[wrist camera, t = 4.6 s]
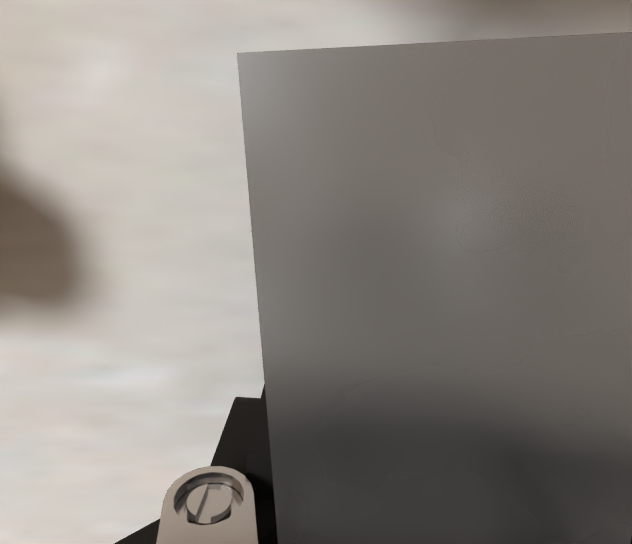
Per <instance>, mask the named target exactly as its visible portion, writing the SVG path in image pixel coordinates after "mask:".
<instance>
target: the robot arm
mask: <svg viewBox="0 0 632 544" xmlns="http://www.w3.org/2000/svg"><path fill="white" fill-rule="evenodd" d="M115 544H278V536H277V525H276V513H275V501H274V489H273V477H272V465H271V453H270V441H269V429H268V417H267V405H266V393H265V384H264V388H263V392H262V396H261V399H260V398H245V397H236V398H235V400H234V402H233V405H232V408H231V410H230V413H229V416H228V419H227V421H226V424H225V427H224V430H223V432H222V435H221V438H220V441H219V443H218V446H217V449H216V452H215V454H214V457H213V460H212V463H211V465H210V466H209V467H203V468H198V469H195V470H193V471H191V472H188V473H186V474H184V475H183V476H182V477H180V478H179V479H177V480H176V481H175V482H174V483H173V484H172V485H171V487H170V488H169V489H168V490H167V493H166V495H165V498H164V501H163V506H162V512H161V518H160V519H158V520H157V521H155V522H153V523H151V524H149V525H147V526H146V527H144V528H142V529H140V530H138V531H136V532H135V533H133V534H131V535H129V536H127V537H125V538H124V539H122V540H120V541H118V542H116V543H115ZM630 544H632V537H631V543H630Z"/></svg>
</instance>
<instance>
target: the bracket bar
mask: <svg viewBox="0 0 632 544" xmlns="http://www.w3.org/2000/svg"><path fill="white" fill-rule="evenodd" d="M237 58H238V70H239V82H240V94H241V106H242V118H243V130H244V142H245V154H246V166H247V178H248V190H249V202H250V213H251V225H252V237H253V249H254V261H255V273H256V285H257V297H258V309H259V321H260V333H261V345H262V357H263V369H264V381H265V393H266V405H267V417H268V429H269V441H270V453H271V465H272V477H273V489H274V501H275V513H276V525H277V536H278V544H630V543H631V537H632V32H627V33H608V34H589V35H570V36H551V37H532V38H513V39H494V40H475V41H456V42H437V43H418V44H399V45H380V46H361V47H342V48H323V49H304V50H285V51H266V52H247V53H237Z"/></svg>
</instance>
